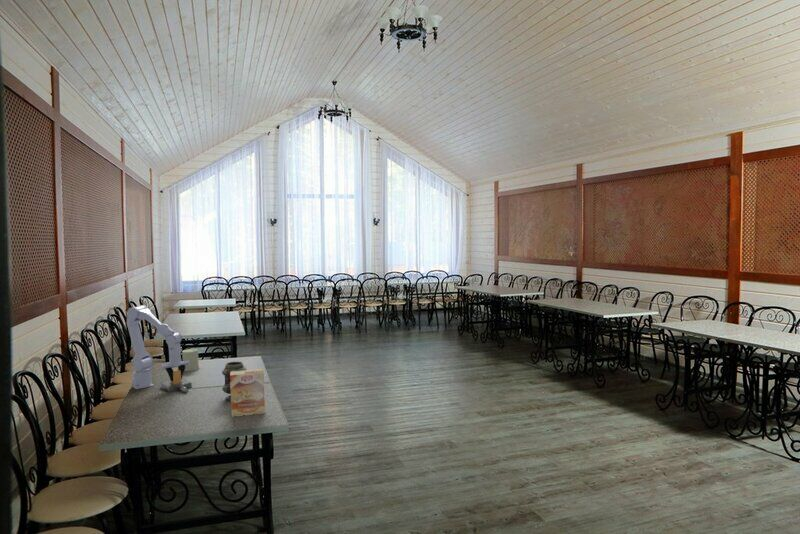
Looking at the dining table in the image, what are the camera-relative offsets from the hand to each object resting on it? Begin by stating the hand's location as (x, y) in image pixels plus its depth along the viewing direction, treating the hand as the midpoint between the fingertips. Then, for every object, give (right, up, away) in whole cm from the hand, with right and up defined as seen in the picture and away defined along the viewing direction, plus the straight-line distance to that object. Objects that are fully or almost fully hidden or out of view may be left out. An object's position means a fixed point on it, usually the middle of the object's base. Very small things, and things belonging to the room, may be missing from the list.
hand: (176, 380), depth 299 cm
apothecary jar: (+38, -5, -21) cm, 44 cm away
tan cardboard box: (0, -3, 0) cm, 3 cm away
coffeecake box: (+51, -7, -43) cm, 67 cm away
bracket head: (+3, -4, -3) cm, 6 cm away
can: (-6, -1, +38) cm, 39 cm away
